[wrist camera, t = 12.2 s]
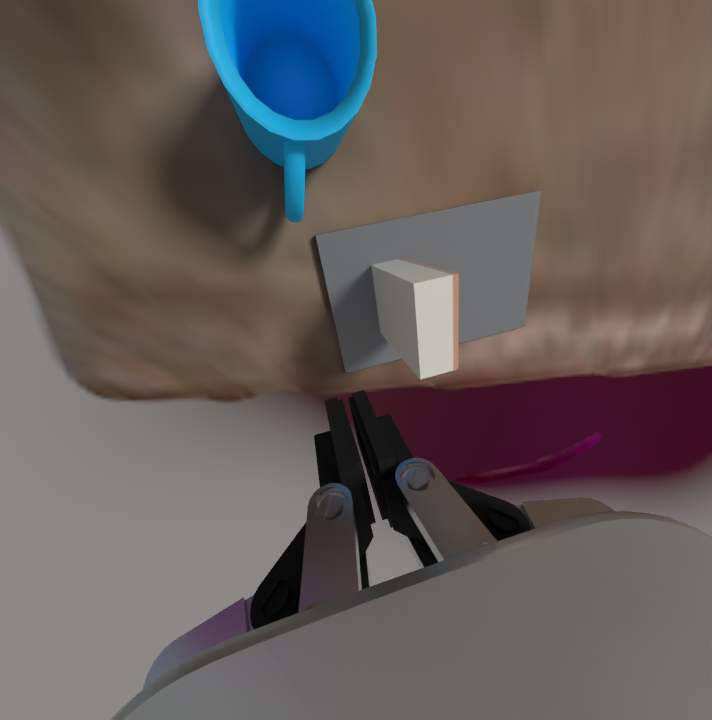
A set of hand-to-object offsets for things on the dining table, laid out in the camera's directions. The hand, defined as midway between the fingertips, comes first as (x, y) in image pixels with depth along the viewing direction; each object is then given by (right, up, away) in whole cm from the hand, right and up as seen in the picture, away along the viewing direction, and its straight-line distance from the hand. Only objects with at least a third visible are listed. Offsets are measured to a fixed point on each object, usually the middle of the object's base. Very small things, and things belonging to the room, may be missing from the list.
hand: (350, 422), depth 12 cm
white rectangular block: (+4, +9, +15) cm, 18 cm away
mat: (+8, +10, +16) cm, 21 cm away
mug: (-5, +20, +9) cm, 22 cm away
